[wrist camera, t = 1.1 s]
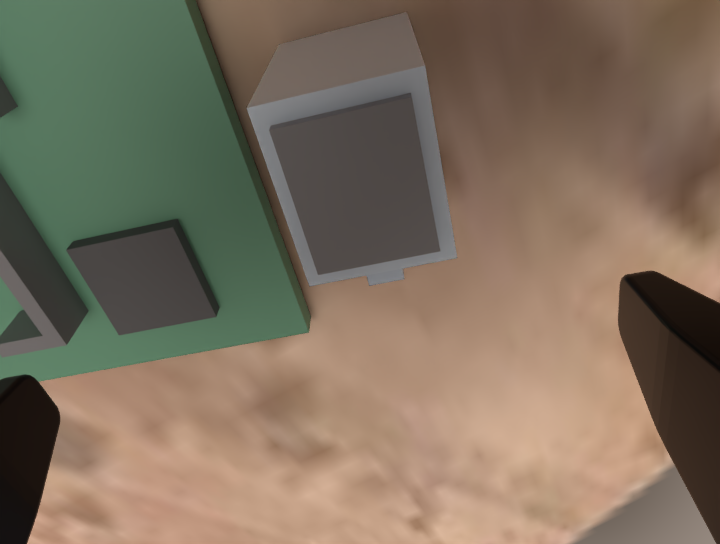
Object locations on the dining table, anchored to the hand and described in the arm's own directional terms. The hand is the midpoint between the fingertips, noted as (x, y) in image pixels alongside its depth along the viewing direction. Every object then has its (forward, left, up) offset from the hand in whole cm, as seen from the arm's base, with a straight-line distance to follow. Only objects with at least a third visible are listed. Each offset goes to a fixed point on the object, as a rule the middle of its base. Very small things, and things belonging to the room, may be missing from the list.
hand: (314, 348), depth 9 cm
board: (+11, +1, -12) cm, 17 cm away
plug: (-1, +1, -12) cm, 12 cm away
